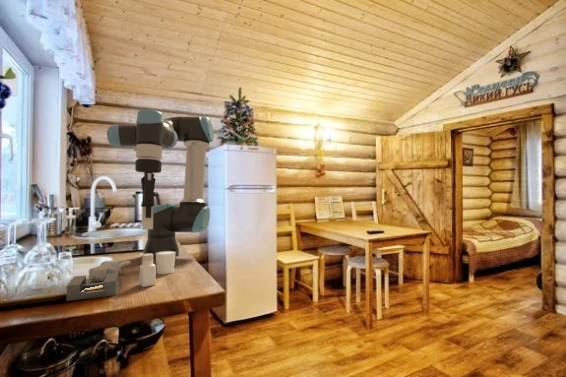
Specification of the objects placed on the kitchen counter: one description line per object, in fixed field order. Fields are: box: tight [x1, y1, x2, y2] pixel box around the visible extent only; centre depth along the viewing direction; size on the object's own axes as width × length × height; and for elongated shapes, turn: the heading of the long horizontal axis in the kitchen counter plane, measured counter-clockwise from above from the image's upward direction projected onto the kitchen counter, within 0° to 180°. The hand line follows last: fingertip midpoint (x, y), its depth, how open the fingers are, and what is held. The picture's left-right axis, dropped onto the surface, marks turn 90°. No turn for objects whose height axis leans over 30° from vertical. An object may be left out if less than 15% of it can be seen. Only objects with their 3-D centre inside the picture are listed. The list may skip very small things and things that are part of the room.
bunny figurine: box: [87, 260, 132, 282], centre depth 105 cm, size 10×5×15 cm
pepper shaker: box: [139, 253, 157, 288], centre depth 96 cm, size 4×4×10 cm
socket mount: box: [65, 273, 119, 302], centre depth 88 cm, size 10×12×4 cm
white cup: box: [155, 251, 176, 275], centre depth 111 cm, size 7×7×7 cm
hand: (146, 227), depth 95 cm, fingers open, 13 cm apart
